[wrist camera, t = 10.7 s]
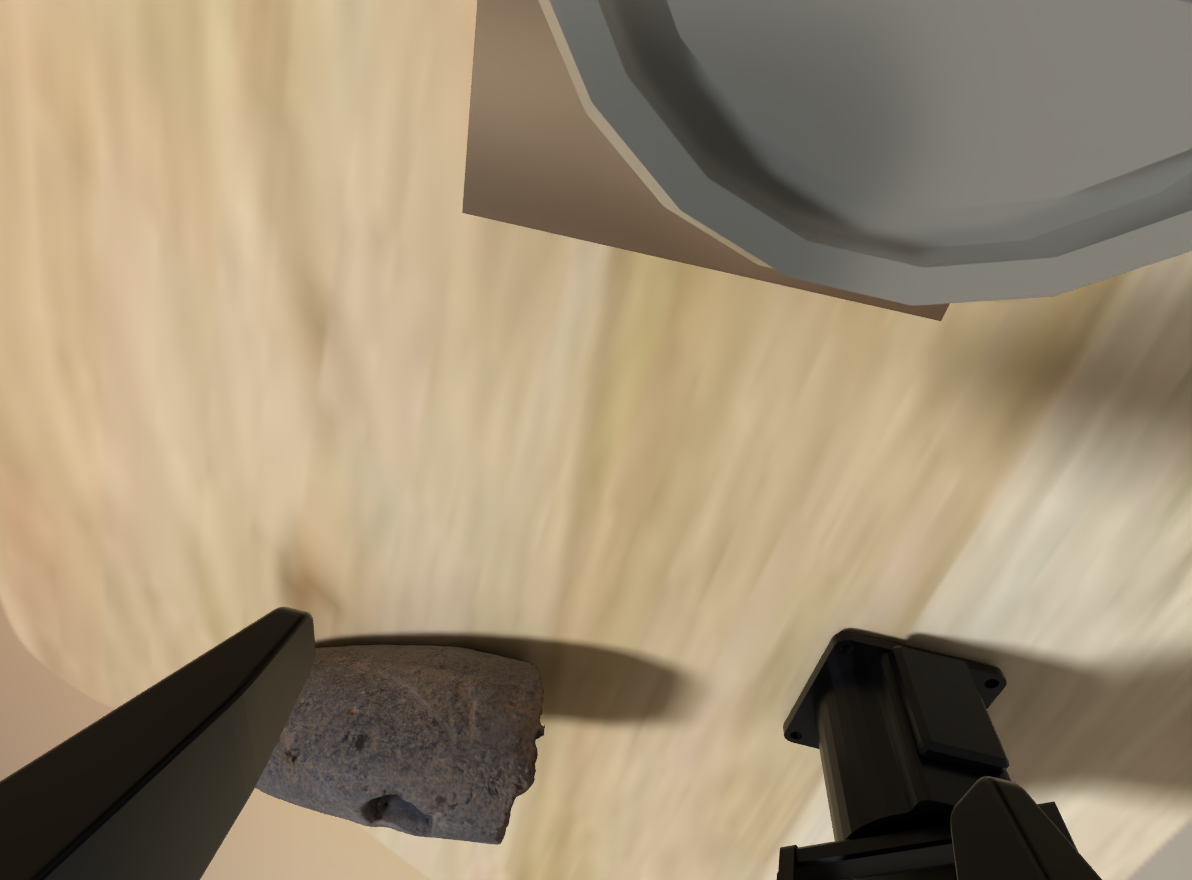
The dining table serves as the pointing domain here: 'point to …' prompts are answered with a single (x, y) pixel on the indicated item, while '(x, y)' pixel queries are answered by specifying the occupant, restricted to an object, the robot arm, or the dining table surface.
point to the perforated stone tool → (411, 739)
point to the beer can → (903, 134)
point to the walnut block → (576, 160)
